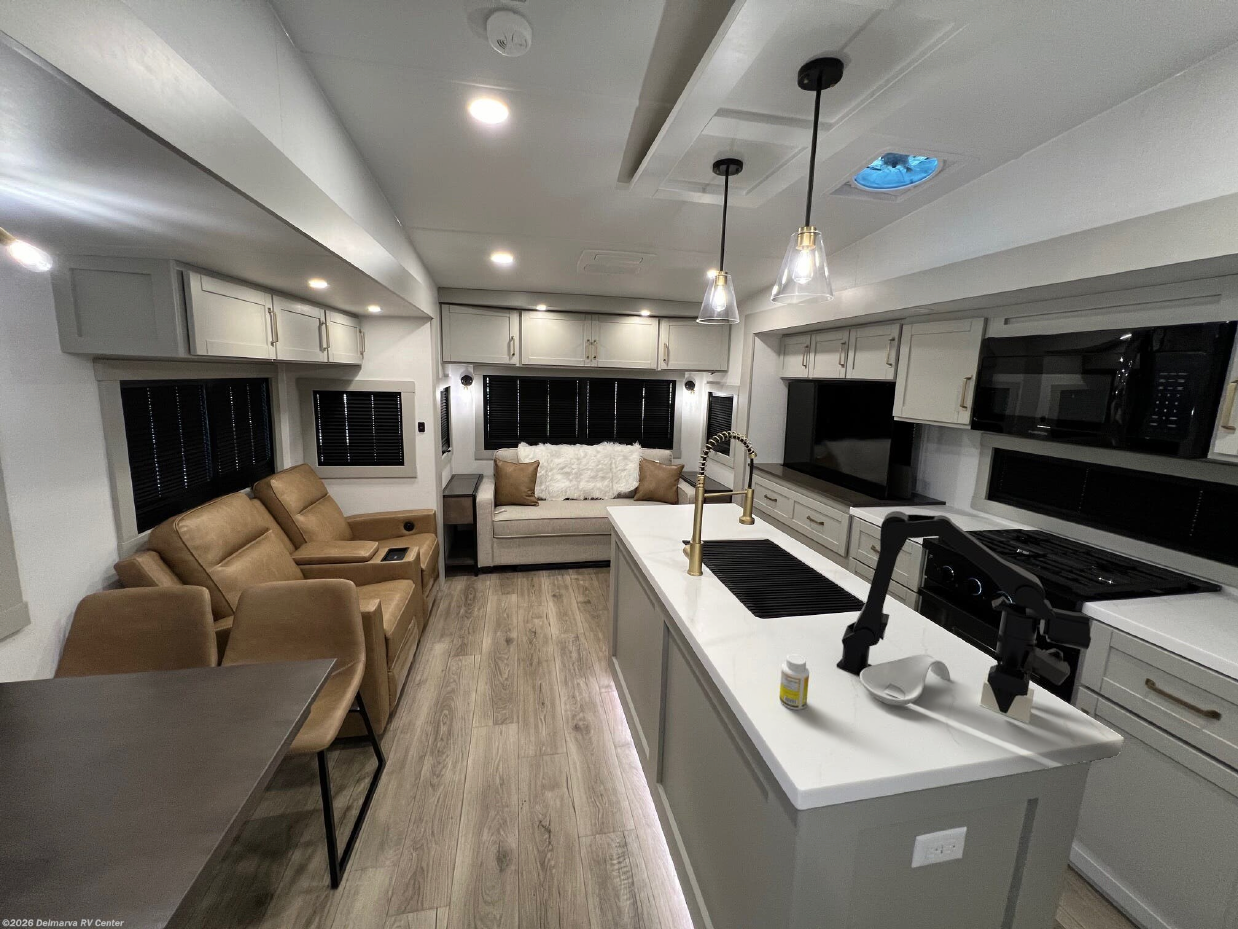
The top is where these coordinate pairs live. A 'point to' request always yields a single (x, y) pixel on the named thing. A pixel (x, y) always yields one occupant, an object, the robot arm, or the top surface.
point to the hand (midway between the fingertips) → (1005, 702)
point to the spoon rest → (902, 677)
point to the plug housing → (1019, 706)
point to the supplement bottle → (794, 682)
